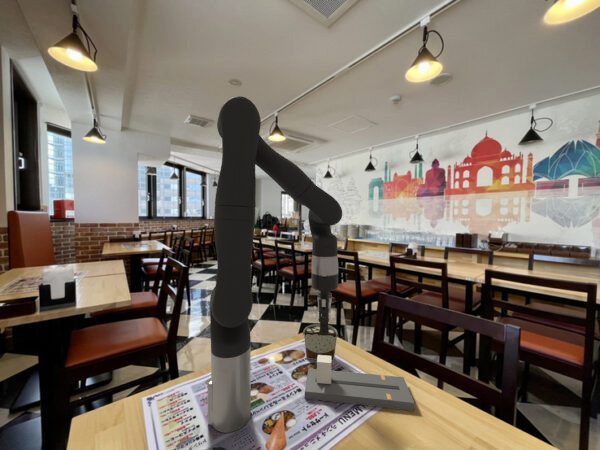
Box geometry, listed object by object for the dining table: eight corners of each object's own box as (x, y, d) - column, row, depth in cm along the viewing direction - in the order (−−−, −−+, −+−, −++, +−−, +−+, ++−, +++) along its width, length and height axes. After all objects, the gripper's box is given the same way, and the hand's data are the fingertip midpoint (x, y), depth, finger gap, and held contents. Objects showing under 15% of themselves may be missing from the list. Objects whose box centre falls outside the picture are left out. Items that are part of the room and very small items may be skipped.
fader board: (304, 398, 65) (304, 390, 65) (308, 374, 75) (308, 368, 75) (414, 410, 62) (414, 402, 61) (403, 383, 71) (403, 376, 71)
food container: (337, 351, 89) (337, 324, 88) (338, 361, 83) (338, 332, 82) (303, 349, 90) (303, 322, 90) (302, 358, 84) (302, 330, 83)
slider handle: (316, 382, 68) (316, 361, 68) (317, 374, 72) (317, 354, 71) (331, 384, 68) (331, 363, 67) (331, 376, 71) (331, 355, 71)
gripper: (313, 265, 76) (313, 316, 77) (308, 277, 62) (309, 339, 63) (337, 266, 75) (337, 318, 76) (338, 277, 61) (338, 341, 61)
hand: (324, 327), depth 69 cm, fingers open, 8 cm apart
